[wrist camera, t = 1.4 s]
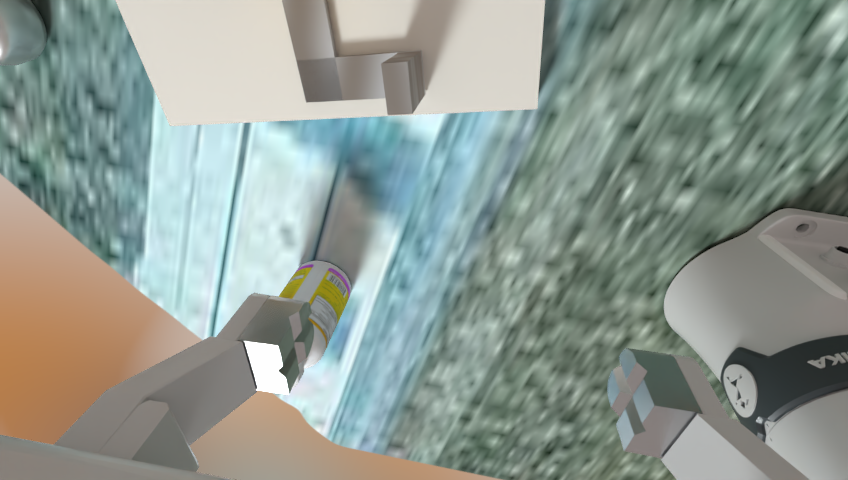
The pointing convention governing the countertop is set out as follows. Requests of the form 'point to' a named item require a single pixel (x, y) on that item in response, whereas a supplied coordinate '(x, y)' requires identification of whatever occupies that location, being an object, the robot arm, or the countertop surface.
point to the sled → (349, 64)
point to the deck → (354, 35)
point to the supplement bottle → (319, 303)
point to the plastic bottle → (20, 32)
